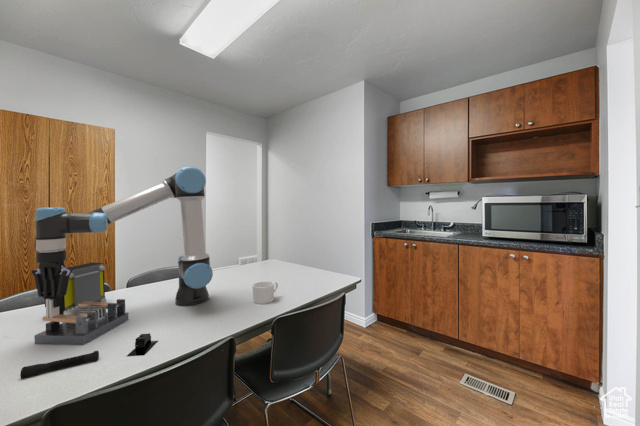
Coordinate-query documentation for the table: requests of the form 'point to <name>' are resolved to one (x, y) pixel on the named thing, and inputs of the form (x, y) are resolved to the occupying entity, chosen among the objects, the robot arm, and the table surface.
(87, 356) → the long black strip
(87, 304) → the lever
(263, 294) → the mug
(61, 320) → the lever
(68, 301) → the electrical component
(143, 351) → the black flanged mount
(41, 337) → the heatsink base
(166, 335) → the table surface
